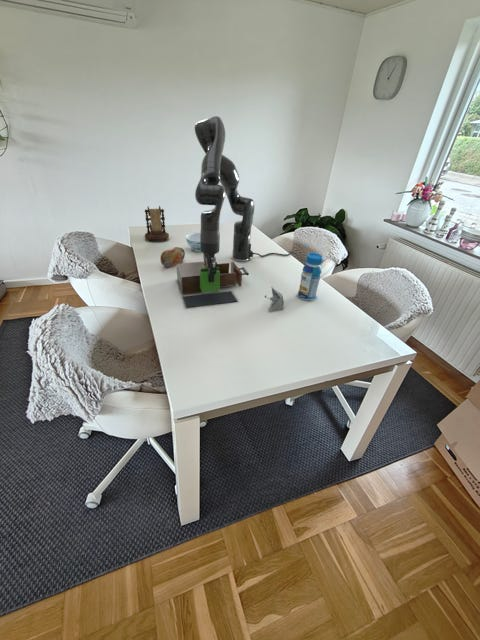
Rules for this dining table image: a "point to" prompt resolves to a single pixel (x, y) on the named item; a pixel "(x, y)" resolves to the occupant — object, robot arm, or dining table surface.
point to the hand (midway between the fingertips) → (209, 279)
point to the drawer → (230, 274)
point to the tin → (172, 256)
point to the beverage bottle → (310, 277)
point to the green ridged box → (204, 282)
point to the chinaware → (194, 241)
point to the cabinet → (189, 277)
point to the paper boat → (276, 300)
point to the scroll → (155, 225)
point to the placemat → (209, 299)
